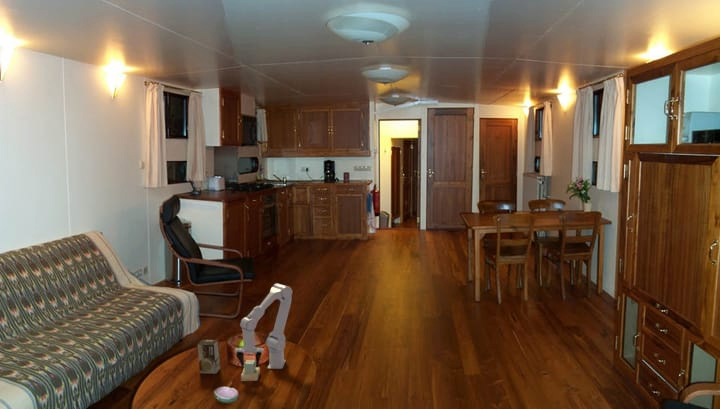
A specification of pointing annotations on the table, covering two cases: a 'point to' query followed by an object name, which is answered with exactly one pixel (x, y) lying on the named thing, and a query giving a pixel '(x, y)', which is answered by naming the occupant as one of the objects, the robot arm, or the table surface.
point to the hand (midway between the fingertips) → (250, 366)
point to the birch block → (250, 375)
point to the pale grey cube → (249, 366)
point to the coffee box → (209, 356)
